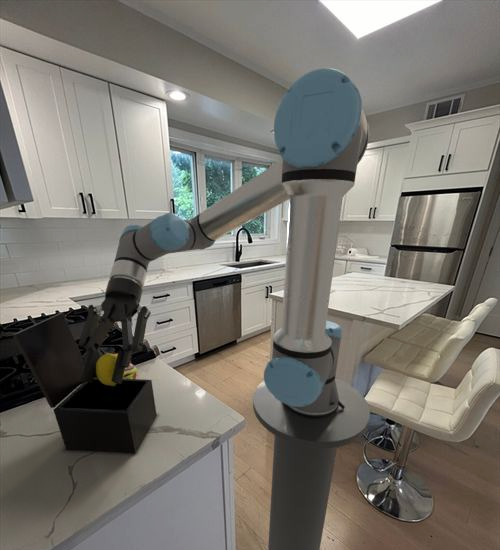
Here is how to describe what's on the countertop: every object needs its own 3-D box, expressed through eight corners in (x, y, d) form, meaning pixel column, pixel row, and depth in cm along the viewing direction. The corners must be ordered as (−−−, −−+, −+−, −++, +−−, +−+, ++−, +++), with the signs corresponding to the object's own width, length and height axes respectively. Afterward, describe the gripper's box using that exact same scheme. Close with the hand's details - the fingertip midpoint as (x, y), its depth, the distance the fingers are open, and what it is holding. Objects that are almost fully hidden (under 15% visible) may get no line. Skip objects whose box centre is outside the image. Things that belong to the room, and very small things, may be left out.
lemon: (123, 376, 65) (117, 345, 62) (130, 387, 61) (124, 354, 58) (97, 384, 62) (89, 352, 58) (103, 396, 58) (95, 362, 54)
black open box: (156, 415, 72) (151, 379, 67) (135, 453, 60) (127, 413, 56) (98, 412, 72) (89, 377, 68) (66, 450, 61) (53, 409, 56)
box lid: (63, 312, 62) (59, 313, 62) (15, 334, 50) (12, 334, 50) (90, 375, 68) (87, 375, 68) (54, 407, 56) (50, 408, 56)
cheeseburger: (114, 394, 80) (103, 362, 77) (98, 389, 86) (87, 359, 84) (145, 378, 87) (135, 349, 85) (128, 375, 94) (119, 347, 91)
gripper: (169, 293, 68) (152, 387, 59) (96, 292, 69) (69, 384, 60) (159, 276, 61) (138, 379, 53) (78, 274, 62) (44, 376, 53)
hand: (101, 381), depth 56 cm, fingers closed on lemon, 5 cm apart
